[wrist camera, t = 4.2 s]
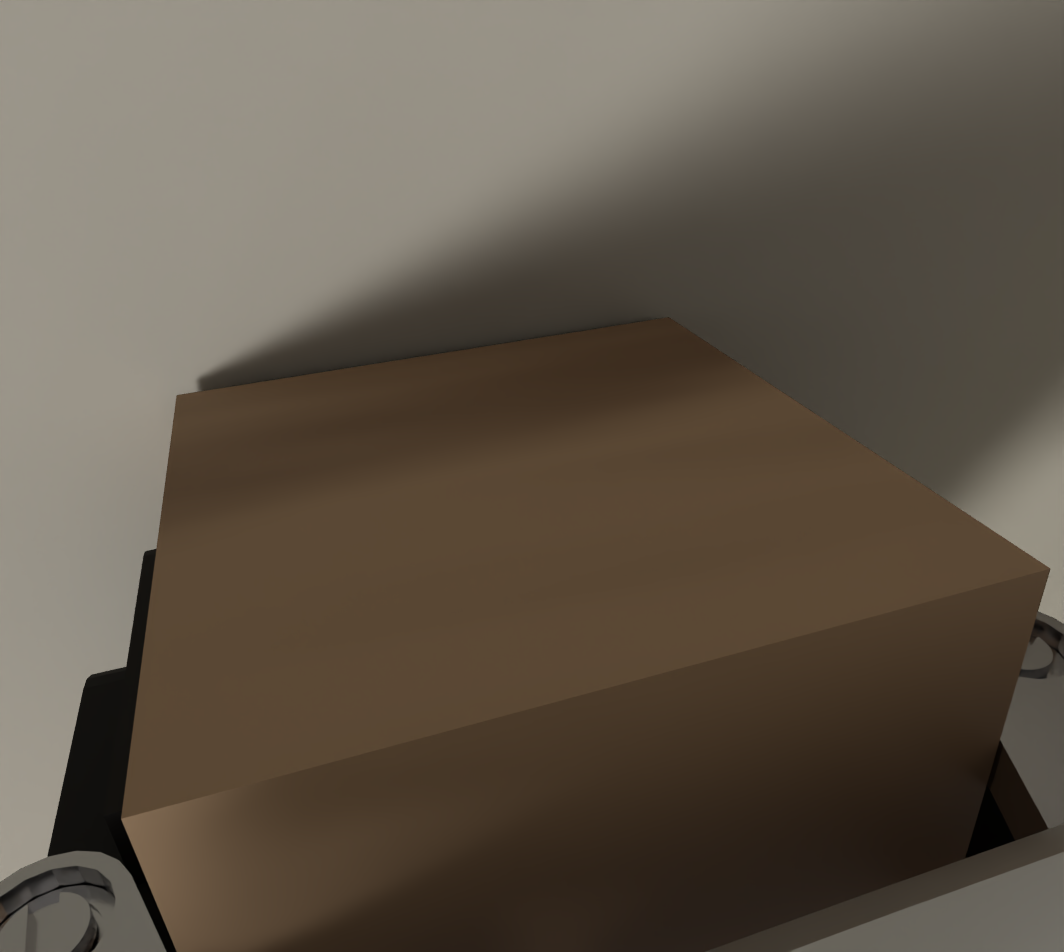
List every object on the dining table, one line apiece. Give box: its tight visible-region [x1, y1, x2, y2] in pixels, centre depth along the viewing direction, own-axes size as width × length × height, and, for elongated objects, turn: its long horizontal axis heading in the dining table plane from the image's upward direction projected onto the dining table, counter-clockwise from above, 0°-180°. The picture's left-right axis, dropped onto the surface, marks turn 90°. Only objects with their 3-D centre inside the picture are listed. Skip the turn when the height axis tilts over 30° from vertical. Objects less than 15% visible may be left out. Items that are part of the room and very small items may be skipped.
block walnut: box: [121, 317, 1050, 952], centre depth 9 cm, size 6×6×6 cm
